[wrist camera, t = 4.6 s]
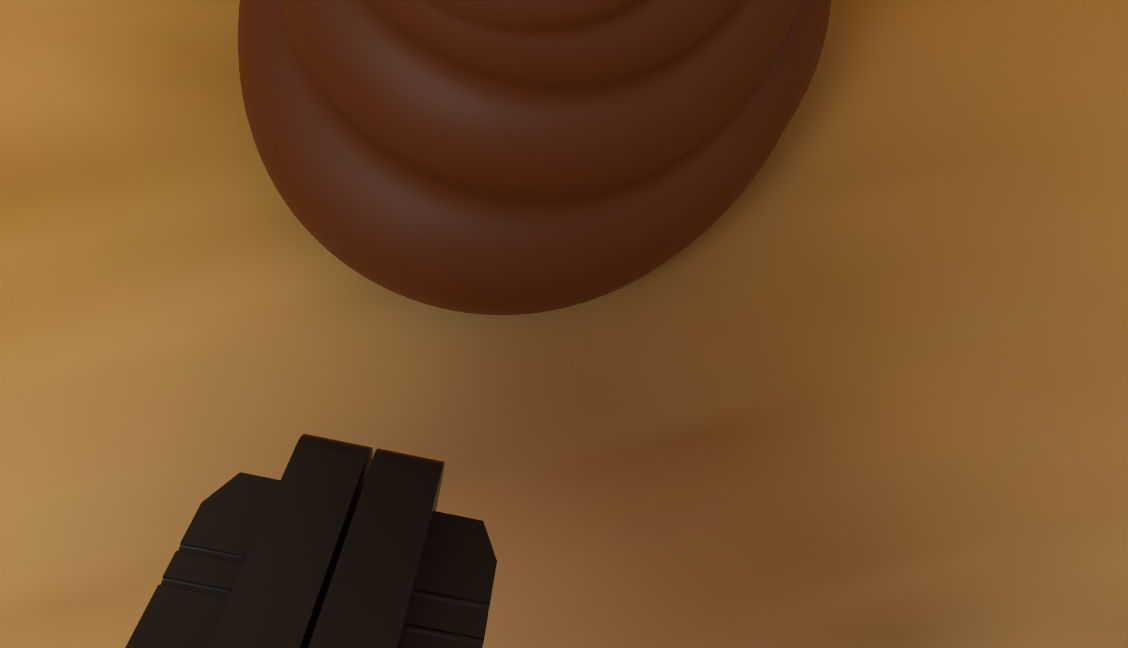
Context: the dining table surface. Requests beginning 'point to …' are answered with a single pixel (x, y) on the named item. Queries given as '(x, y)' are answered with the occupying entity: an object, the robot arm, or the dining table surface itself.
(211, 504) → the robot arm
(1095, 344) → the dining table surface
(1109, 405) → the dining table surface
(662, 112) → the poop emoji
